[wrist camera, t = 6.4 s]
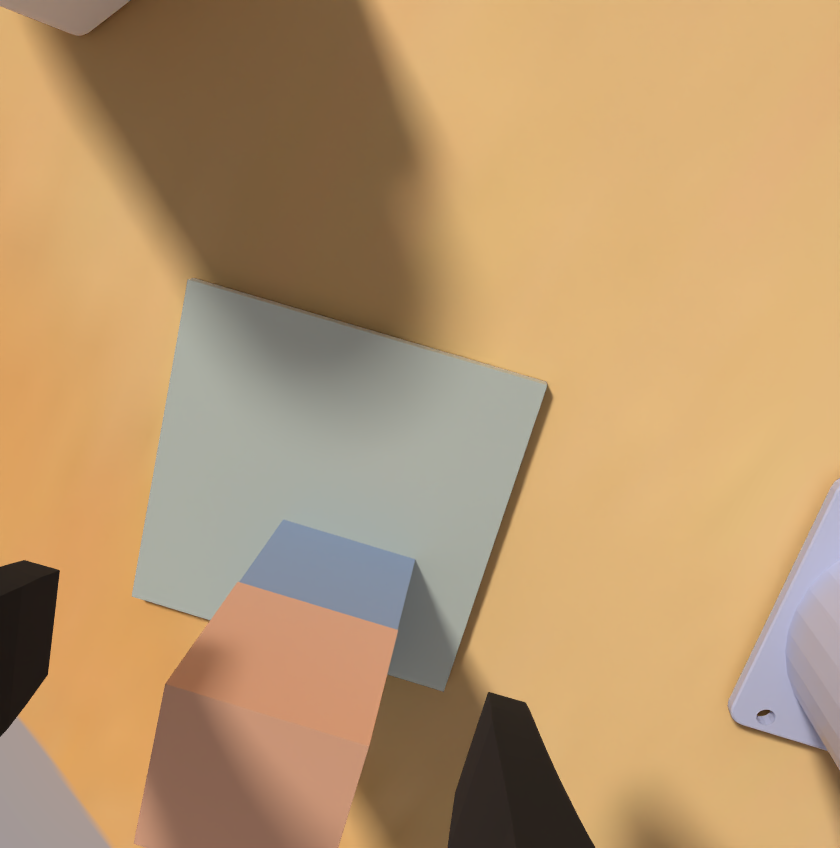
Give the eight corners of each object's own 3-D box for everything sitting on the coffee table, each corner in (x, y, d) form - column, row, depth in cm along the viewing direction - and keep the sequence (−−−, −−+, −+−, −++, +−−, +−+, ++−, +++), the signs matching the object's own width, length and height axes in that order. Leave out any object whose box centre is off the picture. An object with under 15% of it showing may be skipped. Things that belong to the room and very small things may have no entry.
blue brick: (415, 558, 22) (396, 635, 18) (380, 672, 23) (356, 766, 19) (283, 519, 22) (236, 586, 18) (255, 634, 23) (205, 719, 19)
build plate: (546, 381, 20) (547, 385, 20) (444, 683, 23) (443, 691, 23) (193, 277, 20) (188, 279, 20) (137, 589, 23) (131, 596, 23)
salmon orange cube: (398, 630, 18) (369, 746, 14) (358, 762, 19) (321, 902, 15) (237, 581, 18) (165, 683, 14) (208, 715, 19) (133, 843, 15)
